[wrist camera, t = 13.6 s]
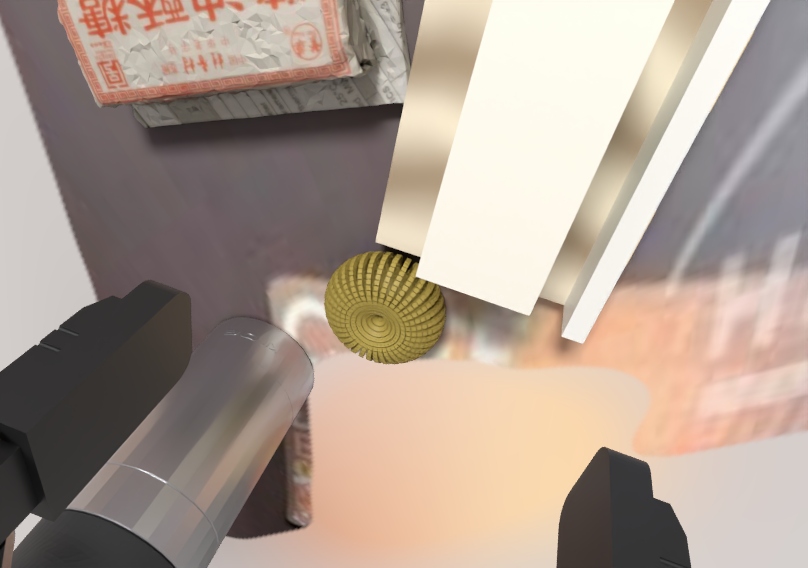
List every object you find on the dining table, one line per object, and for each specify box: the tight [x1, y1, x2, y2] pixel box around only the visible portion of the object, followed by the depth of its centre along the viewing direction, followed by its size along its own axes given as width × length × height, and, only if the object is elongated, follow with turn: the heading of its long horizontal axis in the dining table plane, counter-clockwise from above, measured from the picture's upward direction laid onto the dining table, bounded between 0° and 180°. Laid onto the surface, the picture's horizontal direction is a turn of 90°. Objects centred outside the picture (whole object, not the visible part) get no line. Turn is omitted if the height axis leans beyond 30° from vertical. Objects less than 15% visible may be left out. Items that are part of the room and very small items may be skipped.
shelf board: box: [376, 0, 713, 305], centre depth 28 cm, size 21×13×2 cm, turn 168°
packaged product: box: [57, 0, 411, 128], centre depth 29 cm, size 18×5×10 cm
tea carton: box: [416, 0, 675, 316], centre depth 24 cm, size 6×14×7 cm, turn 167°
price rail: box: [561, 0, 770, 344], centre depth 25 cm, size 21×1×3 cm, turn 168°
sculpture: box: [324, 251, 446, 364], centre depth 36 cm, size 8×4×8 cm
